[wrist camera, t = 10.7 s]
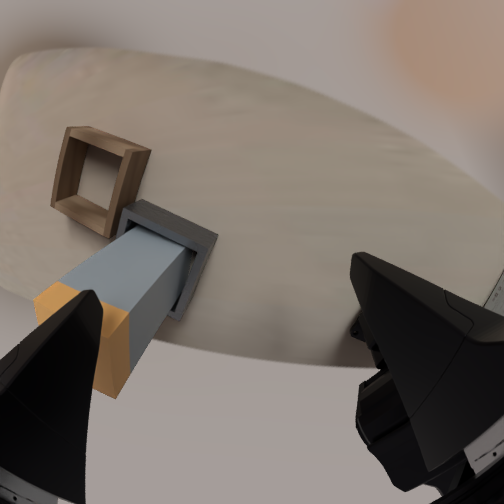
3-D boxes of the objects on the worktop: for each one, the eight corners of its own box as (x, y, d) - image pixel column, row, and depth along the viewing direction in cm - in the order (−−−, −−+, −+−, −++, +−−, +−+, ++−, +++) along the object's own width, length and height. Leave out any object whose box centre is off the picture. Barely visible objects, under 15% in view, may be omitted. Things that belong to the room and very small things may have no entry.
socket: (218, 234, 22) (208, 248, 19) (190, 302, 24) (179, 321, 21) (142, 199, 21) (123, 207, 18) (123, 268, 24) (106, 283, 21)
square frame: (151, 149, 20) (132, 151, 17) (127, 227, 22) (108, 238, 19) (88, 126, 19) (66, 126, 16) (71, 198, 22) (50, 205, 19)
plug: (196, 235, 22) (108, 338, 10) (186, 283, 23) (115, 399, 11) (145, 220, 22) (33, 299, 10) (140, 268, 23) (49, 363, 11)
